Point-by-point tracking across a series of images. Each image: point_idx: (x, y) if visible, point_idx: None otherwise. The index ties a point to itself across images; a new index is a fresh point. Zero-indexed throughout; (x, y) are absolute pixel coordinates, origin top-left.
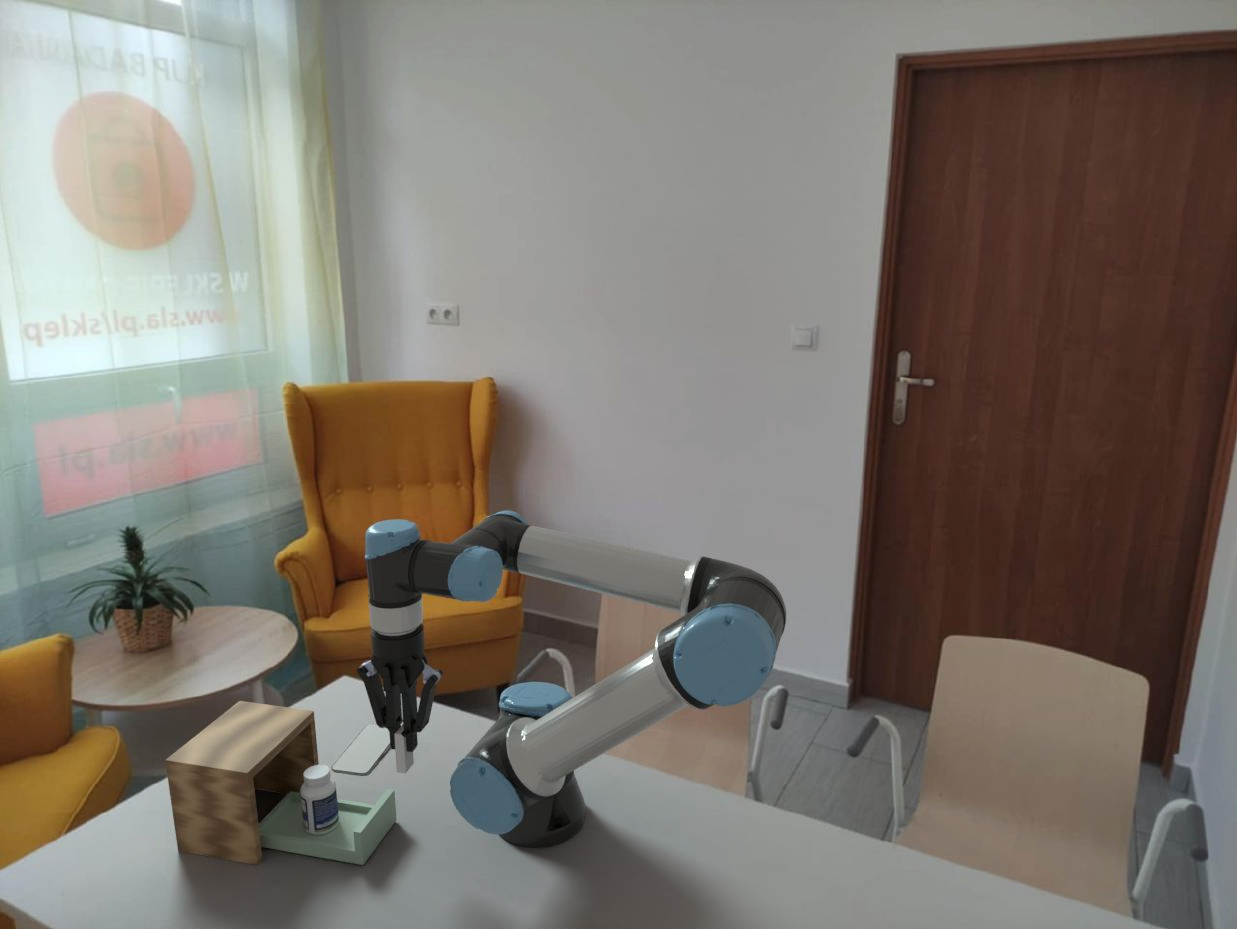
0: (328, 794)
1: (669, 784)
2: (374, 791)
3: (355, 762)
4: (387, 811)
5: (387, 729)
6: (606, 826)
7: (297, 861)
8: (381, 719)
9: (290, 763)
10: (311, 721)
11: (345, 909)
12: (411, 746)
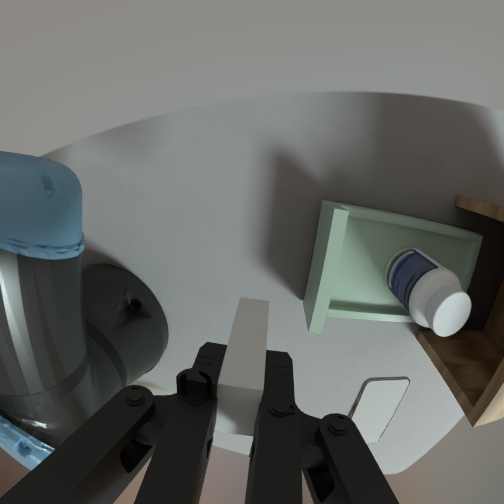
0: (418, 284)
1: None
2: (351, 355)
3: (383, 394)
4: (312, 295)
5: None
6: None
7: (416, 205)
8: (331, 444)
9: (466, 356)
10: (471, 410)
11: (313, 110)
12: (205, 355)
